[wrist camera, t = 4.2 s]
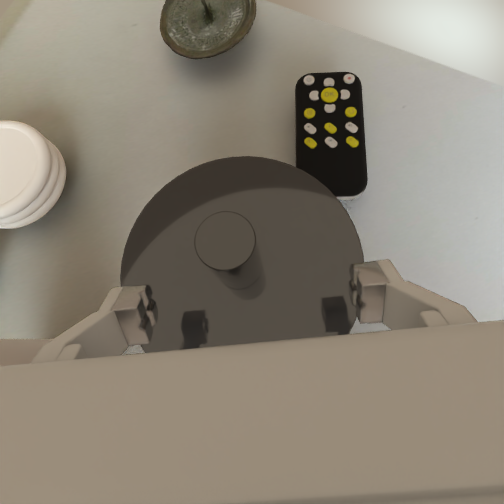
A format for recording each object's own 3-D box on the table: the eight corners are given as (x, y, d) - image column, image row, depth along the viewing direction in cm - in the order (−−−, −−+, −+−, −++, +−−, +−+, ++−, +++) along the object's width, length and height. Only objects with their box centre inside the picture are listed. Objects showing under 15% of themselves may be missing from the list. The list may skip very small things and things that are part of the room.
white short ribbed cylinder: (50, 237, 33) (24, 225, 29) (-42, 223, 34) (-78, 209, 31) (81, 144, 35) (60, 123, 32) (-6, 134, 36) (-36, 112, 33)
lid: (272, 26, 39) (275, -27, 34) (226, 74, 35) (223, 21, 30) (193, 1, 41) (187, -51, 37) (142, 44, 37) (127, -10, 33)
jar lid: (301, 443, 18) (310, 493, 12) (86, 325, 20) (4, 318, 14) (395, 215, 20) (442, 162, 14) (195, 136, 23) (164, 63, 17)
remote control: (295, 202, 32) (296, 193, 30) (294, 84, 35) (295, 69, 33) (365, 202, 31) (370, 192, 29) (357, 82, 34) (362, 66, 32)
